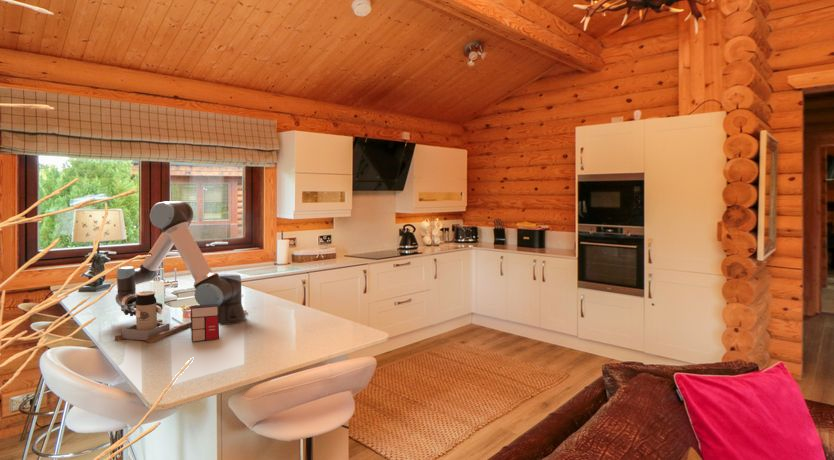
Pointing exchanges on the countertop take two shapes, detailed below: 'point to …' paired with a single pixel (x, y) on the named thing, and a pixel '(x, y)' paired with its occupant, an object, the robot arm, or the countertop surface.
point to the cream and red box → (204, 322)
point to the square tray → (143, 331)
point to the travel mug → (146, 310)
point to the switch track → (161, 334)
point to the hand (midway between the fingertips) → (150, 312)
